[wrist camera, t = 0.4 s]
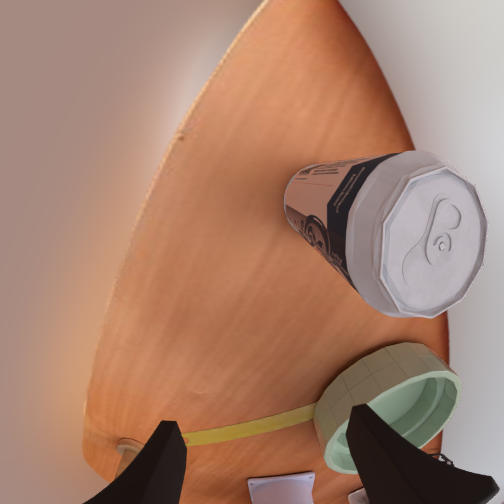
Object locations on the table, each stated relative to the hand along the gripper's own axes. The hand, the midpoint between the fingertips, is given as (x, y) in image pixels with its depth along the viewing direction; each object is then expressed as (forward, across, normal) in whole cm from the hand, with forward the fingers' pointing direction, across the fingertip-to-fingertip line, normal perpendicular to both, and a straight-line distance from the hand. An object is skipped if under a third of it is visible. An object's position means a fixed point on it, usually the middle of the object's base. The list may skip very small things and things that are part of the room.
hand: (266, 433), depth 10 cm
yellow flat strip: (+10, -1, +12) cm, 16 cm away
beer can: (+10, -5, -8) cm, 14 cm away
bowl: (+10, -11, +10) cm, 18 cm away
